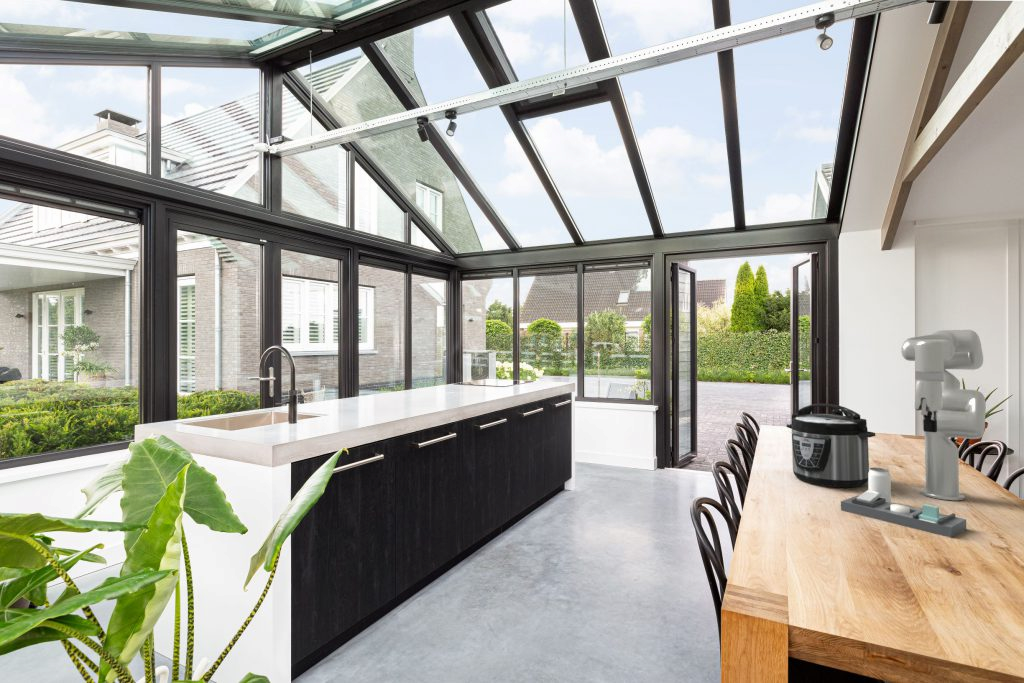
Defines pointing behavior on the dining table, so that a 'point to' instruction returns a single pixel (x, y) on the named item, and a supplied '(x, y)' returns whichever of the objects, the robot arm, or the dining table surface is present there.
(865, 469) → the pressure cooker
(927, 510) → the teal slide switch
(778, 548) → the dining table surface
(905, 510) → the push button
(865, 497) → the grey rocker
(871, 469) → the can
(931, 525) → the control panel
